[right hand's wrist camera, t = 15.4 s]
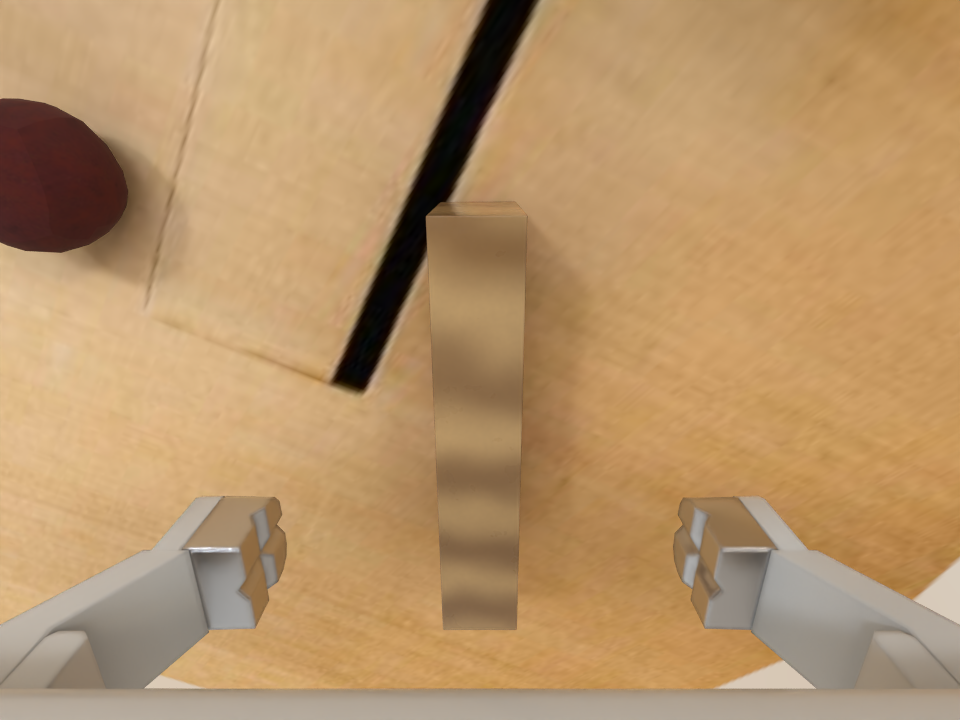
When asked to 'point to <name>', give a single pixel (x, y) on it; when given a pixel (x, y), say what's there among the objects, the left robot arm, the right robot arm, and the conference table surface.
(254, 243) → the conference table surface
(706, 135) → the conference table surface
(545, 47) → the conference table surface
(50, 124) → the dark red ball
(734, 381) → the conference table surface
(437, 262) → the bar
